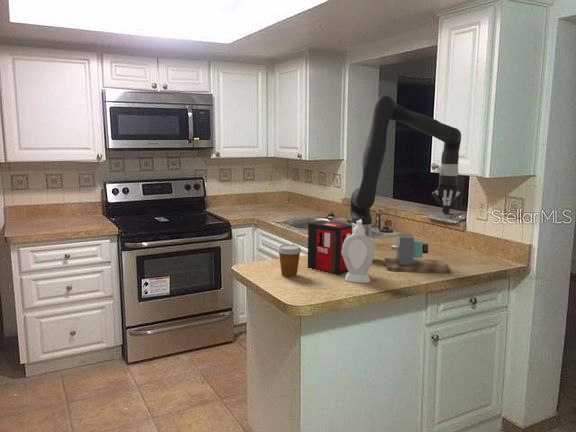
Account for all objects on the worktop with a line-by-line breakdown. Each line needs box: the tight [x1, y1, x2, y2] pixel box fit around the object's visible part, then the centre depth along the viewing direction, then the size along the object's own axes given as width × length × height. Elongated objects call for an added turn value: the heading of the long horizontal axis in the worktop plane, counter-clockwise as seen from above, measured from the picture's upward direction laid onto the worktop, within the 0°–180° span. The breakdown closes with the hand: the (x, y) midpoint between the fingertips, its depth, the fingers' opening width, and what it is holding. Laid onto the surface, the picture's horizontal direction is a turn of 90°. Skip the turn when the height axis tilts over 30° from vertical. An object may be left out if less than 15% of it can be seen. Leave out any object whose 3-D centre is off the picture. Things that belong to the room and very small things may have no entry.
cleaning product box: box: [307, 220, 352, 276], centre depth 206 cm, size 16×9×20 cm, turn 50°
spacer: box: [413, 240, 424, 259], centre depth 211 cm, size 4×6×7 cm
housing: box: [396, 232, 415, 266], centre depth 212 cm, size 6×10×12 cm, turn 173°
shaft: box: [390, 242, 429, 255], centre depth 212 cm, size 16×4×4 cm, turn 83°
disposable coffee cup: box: [277, 244, 302, 278], centre depth 197 cm, size 10×10×12 cm
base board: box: [384, 257, 451, 274], centre depth 212 cm, size 26×16×2 cm, turn 83°
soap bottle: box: [342, 219, 376, 284], centre depth 190 cm, size 13×8×24 cm, turn 74°
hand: (445, 213), depth 210 cm, fingers closed
